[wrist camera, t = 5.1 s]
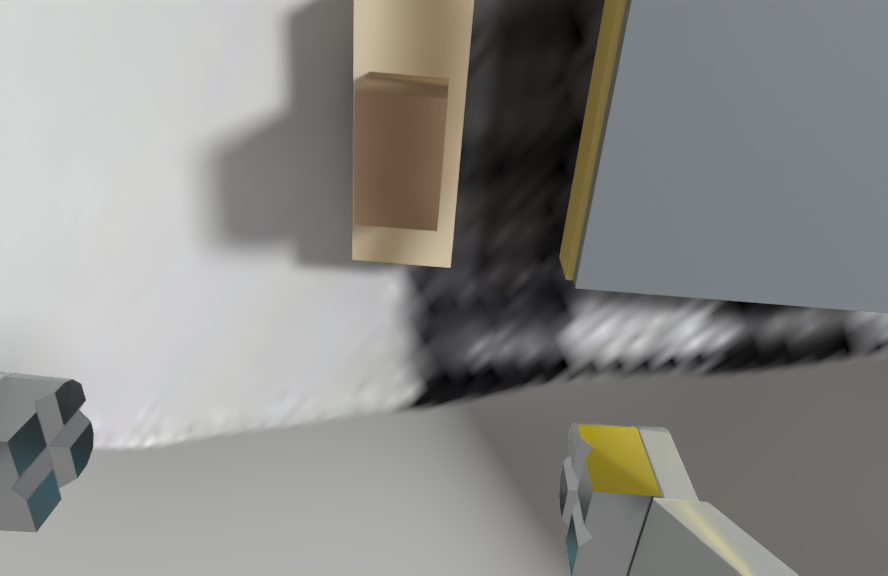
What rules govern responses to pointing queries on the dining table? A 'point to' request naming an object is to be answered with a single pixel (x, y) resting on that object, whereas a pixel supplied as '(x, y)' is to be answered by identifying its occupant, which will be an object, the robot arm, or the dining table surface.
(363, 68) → the tan stepped block
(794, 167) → the dock
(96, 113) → the dining table surface
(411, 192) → the brown box
